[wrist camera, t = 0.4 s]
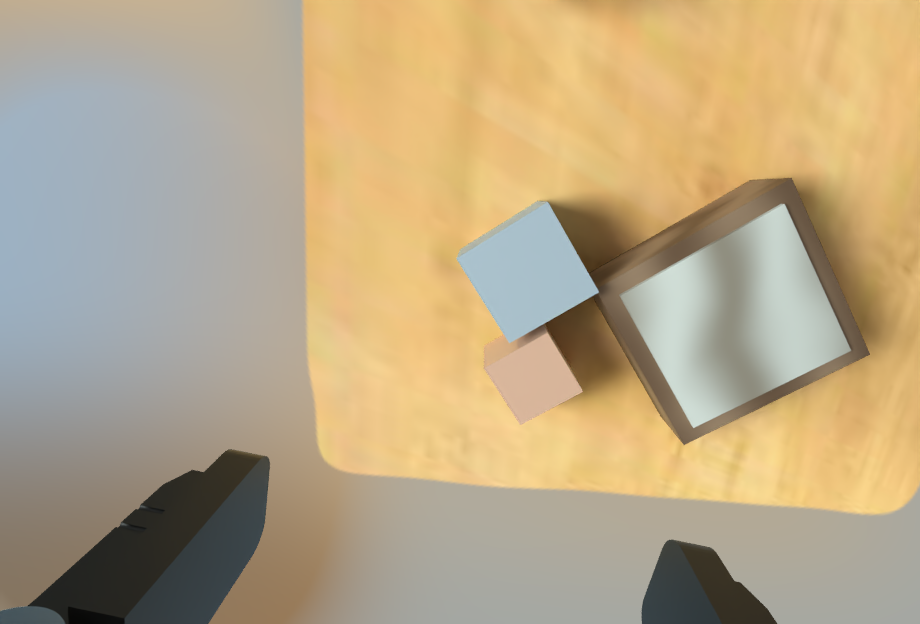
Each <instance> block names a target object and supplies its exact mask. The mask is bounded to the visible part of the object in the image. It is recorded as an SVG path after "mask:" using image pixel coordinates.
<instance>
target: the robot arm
mask: <svg viewBox="0 0 920 624" xmlns="http://www.w3.org/2000/svg"><path fill="white" fill-rule="evenodd" d="M269 469H270V462H269V458H268V457H267V456H261V455H257V454H252V453H247V452H242V451H236V450H232V449H230V450H227V451H225V452H224V453H223V454H222V455H221V456H220V457H219V458H218V459H217V460H216V461H215V462H214V463H213V464H212V465H211V466H210V467H209V468H208V469H207V470H206V471H205V472H200V471H195V470H191V471H189V472H188V473H185V474H183V475H182V476H180V477H178V478H175V479H174V480H171V481H170V482H168V483H165V484H163V485H162V486H161V487H160V488H159V489H158V490H157V491H156V492H154V493H153V494H152V495H151V496H150V497H149V498H148V499H147V500H145V501H144V503H142V504H141V505H140V508H139V509H138V510H137V509H136V510H134V511H133V512H132V513H131V514H130V515H129V516H128V517H127V518H126V519H124V520H123V521H122V522H121V524H120V526H119V527H118V528H117V527H116V528H114V529H113V530H112V531H111V532H110V533H109V534H108V535H107V536H105V537H104V538H103V539H102V540H101V541H100V542H99V543H98V544H97V545H95V546H94V547H93V548H92V549H91V550H90V551H89V552H88V553H87V554H85V555H84V556H83V557H82V558H81V559H80V560H79V561H78V562H76V563H75V564H74V565H73V566H72V567H71V568H70V569H69V570H68V571H67V572H65V573H64V574H63V575H62V576H61V577H60V578H59V579H58V580H56V581H55V582H54V583H53V584H52V585H51V586H50V587H49V588H48V589H46V591H44V592H43V593H42V594H41V595H40V596H39V597H38V598H37V599H35V600H34V601H33V602H32V603H31V604H30V605H28V606H25V607H16V608H11V609H6V610H2V611H0V624H208V623H209V622H210V620H211V619H212V617H213V615H214V614H215V612H216V611H217V609H218V607H219V606H220V605H221V603H222V602H223V600H224V598H225V597H226V595H227V594H228V592H229V591H230V589H231V588H232V586H233V584H234V583H235V581H236V580H237V579H238V577H239V575H240V574H241V572H242V571H243V569H244V568H245V566H246V565H247V563H248V562H249V560H250V558H251V557H252V555H253V554H254V551H255V550H256V548H257V546H258V543H259V541H260V538H261V535H262V532H263V528H264V523H265V515H266V503H267V491H268V481H269ZM642 624H777V623H776V621H775V620H774V618H773V617H772V615H771V614H770V612H769V611H768V609H767V608H766V607H765V606H764V605H763V604H762V603H760V601H759V600H758V599H757V598H756V597H754V595H752V593H750V592H749V591H748V590H747V589H746V588H745V587H744V586H743V585H742V584H741V583H740V582H735V581H734V580H733V578H732V577H731V575H730V574H729V572H728V570H727V569H726V567H725V566H724V564H723V563H722V561H721V559H720V558H719V556H718V555H717V553H716V552H715V551H714V550H713V549H712V548H710V547H705V546H701V545H696V544H691V543H686V542H681V541H676V540H669V541H667V542H666V543H665V544H664V546H663V548H662V551H661V554H660V556H659V560H658V562H657V564H656V567H655V570H654V573H653V575H652V578H651V581H650V584H649V586H648V589H647V592H646V595H645V597H644V600H643V605H642Z"/></svg>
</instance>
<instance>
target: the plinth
mask: <svg viewBox="0 0 920 624" xmlns="http://www.w3.org/2000/svg"><path fill="white" fill-rule="evenodd" d="M589 275H590V277H591V279H592V281H593V282H594V284H595V286H596V288H597V289H598V291H599V293H597V294H595V295H593V298H594V300H595V302H596V303H597V305H598V307H599V309H600V310H601V312H602V314H603V316H604V317H605V319H606V321H607V323H608V325H609V326H610V328H611V330H612V332H613V333H614V335H615V337H616V339H617V340H618V342H619V344H620V346H621V347H622V349H623V351H624V353H625V354H626V356H627V358H628V360H629V361H630V363H631V365H632V367H633V368H634V370H635V372H636V374H637V375H638V377H639V379H640V381H641V382H642V384H643V386H644V388H645V390H646V391H647V393H648V395H649V397H650V398H651V400H652V402H653V404H654V405H655V407H656V409H657V411H658V412H659V414H660V416H661V417H662V418H663V420H664V421H665V422H666V423H667V425H668V426H669V427H670V428H671V430H672V431H673V432H674V433H675V434H676V436H677V437H678V438H679V439H680V441H681V442H682V443H683V444H684V445H685V444H687V443H689V442H691V441H693V440H695V439H697V438H699V437H701V436H703V435H705V434H707V433H709V432H711V431H714V430H716V429H718V428H720V427H722V426H724V425H726V424H728V423H730V422H732V421H734V420H736V419H738V418H740V417H742V416H744V415H746V414H749V413H751V412H753V411H755V410H757V409H759V408H761V407H763V406H765V405H767V404H769V403H771V402H773V401H775V400H777V399H779V398H781V397H783V396H786V395H788V394H790V393H792V392H794V391H796V390H798V389H800V388H802V387H804V386H806V385H808V384H810V383H812V382H814V381H816V380H818V379H821V378H823V377H825V376H827V375H829V374H831V373H833V372H835V371H837V370H839V369H841V368H843V367H845V366H847V365H849V364H851V363H853V362H856V361H858V360H860V359H862V358H864V357H866V356H868V355H870V353H869V351H868V349H867V347H866V344H865V342H864V340H863V338H862V335H861V333H860V331H859V329H858V326H857V324H856V322H855V320H854V317H853V315H852V313H851V311H850V308H849V306H848V304H847V302H846V299H845V297H844V295H843V293H842V290H841V288H840V286H839V284H838V281H837V279H836V277H835V275H834V272H833V270H832V268H831V266H830V263H829V261H828V259H827V257H826V254H825V252H824V250H823V248H822V245H821V243H820V241H819V239H818V237H817V234H816V232H815V230H814V228H813V225H812V223H811V221H810V219H809V216H808V214H807V212H806V210H805V207H804V205H803V203H802V201H801V198H800V196H799V194H798V192H797V189H796V187H795V185H794V183H793V180H792V178H784V179H765V180H750V181H748V182H746V183H745V184H743V185H741V186H740V187H738V188H736V189H734V190H733V191H731V192H729V193H727V194H726V195H724V196H722V197H720V198H719V199H717V200H715V201H714V202H712V203H710V204H708V205H707V206H705V207H703V208H701V209H700V210H698V211H696V212H694V213H693V214H691V215H689V216H688V217H686V218H684V219H682V220H681V221H679V222H677V223H675V224H674V225H672V226H670V227H669V228H667V229H665V230H663V231H662V232H660V233H658V234H656V235H655V236H653V237H651V238H649V239H648V240H646V241H644V242H643V243H641V244H639V245H637V246H636V247H634V248H632V249H630V250H629V251H627V252H625V253H624V254H622V255H620V256H618V257H617V258H615V259H613V260H611V261H610V262H608V263H606V264H604V265H603V266H601V267H599V268H598V269H596V270H594V271H592V272H591V273H589Z"/></svg>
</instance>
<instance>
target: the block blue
mask: <svg viewBox="0 0 920 624" xmlns="http://www.w3.org/2000/svg"><path fill="white" fill-rule="evenodd" d="M456 259H457V260H458V262H459V263H460V265H461V267H462V268H463V270H464V271H465V273H466V275H467V276H468V278H469V279H470V281H471V283H472V284H473V286H474V287H475V289H476V291H477V292H478V294H479V295H480V297H481V299H482V300H483V302H484V303H485V305H486V307H487V308H488V310H489V311H490V313H491V315H492V316H493V318H494V319H495V321H496V323H497V324H498V326H499V327H500V329H501V331H502V332H503V334H504V335H505V337H506V339H507V340H508V342H509V343H511V342H513V341H514V340H516V339H518V338H520V337H521V336H523V335H525V334H527V333H529V332H530V331H532V330H534V329H536V328H537V327H539V326H541V325H543V324H544V323H546V322H548V321H550V320H551V319H553V318H555V317H557V316H558V315H560V314H562V313H564V312H565V311H567V310H569V309H571V308H572V307H574V306H576V305H578V304H579V303H581V302H583V301H585V300H586V299H588V298H590V297H592V296H593V295H595V294H597V293H599V291H598V289H597V288H596V286H595V284H594V282H593V281H592V279H591V277H590V275H589V274H588V272H587V270H586V268H585V266H584V265H583V263H582V261H581V259H580V258H579V256H578V254H577V252H576V251H575V249H574V247H573V245H572V244H571V242H570V240H569V238H568V236H567V235H566V233H565V231H564V229H563V228H562V226H561V224H560V222H559V221H558V219H557V217H556V215H555V214H554V212H553V210H552V208H551V207H550V205H549V203H548V202H544V201H537V202H535V203H534V204H532V205H530V206H529V207H527V208H526V209H524V210H522V211H521V212H519V213H518V214H516V215H514V216H513V217H511V218H510V219H508V220H506V221H505V222H503V223H502V224H500V225H498V226H497V227H495V228H494V229H492V230H490V231H489V232H487V233H486V234H484V235H482V236H481V237H479V238H478V239H476V240H474V241H473V242H471V243H470V244H468V245H466V246H465V247H463V248H462V249H460V251H459V254H458V256H457V258H456Z"/></svg>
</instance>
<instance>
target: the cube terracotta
mask: <svg viewBox="0 0 920 624" xmlns="http://www.w3.org/2000/svg"><path fill="white" fill-rule="evenodd" d="M484 369H485V371H486V372H487V374H488V375H489V377H490V378H491V380H492V382H493V383H494V385H495V386H496V388H497V389H498V391H499V392H500V394H501V395H502V397H503V399H504V400H505V402H506V403H507V405H508V406H509V408H510V409H511V411H512V413H513V414H514V416H515V417H516V419H517V420H518V422H519V423H520V425H521V424H523V423H525V422H527V421H529V420H531V419H532V418H534V417H536V416H538V415H540V414H542V413H544V412H546V411H548V410H549V409H551V408H553V407H555V406H557V405H559V404H561V403H563V402H565V401H566V400H568V399H570V398H572V397H574V396H576V395H578V394H580V393H582V392H583V390H582V388H581V386H580V385H579V383H578V381H577V379H576V377H575V375H574V373H573V371H572V369H571V367H570V365H569V363H568V362H567V360H566V358H565V357H564V355H563V353H562V352H561V350H560V348H559V347H558V345H557V343H556V342H555V340H554V338H553V337H552V335H551V333H550V332H549V330H548V328H547V327H546V325H545V323H544V324H543V325H541V326H539V327H537V328H536V329H534V330H532V331H530V332H529V333H527V334H525V335H523V336H521V337H520V338H518V339H516V340H514V341H513V342H511V343H509V342H508V340H507V339H506V337H505V335H504V334H503V335H502V336H500V337H498V338H496V339H495V340H493V341H491V342H489V343H488V344H486V345H484Z"/></svg>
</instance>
